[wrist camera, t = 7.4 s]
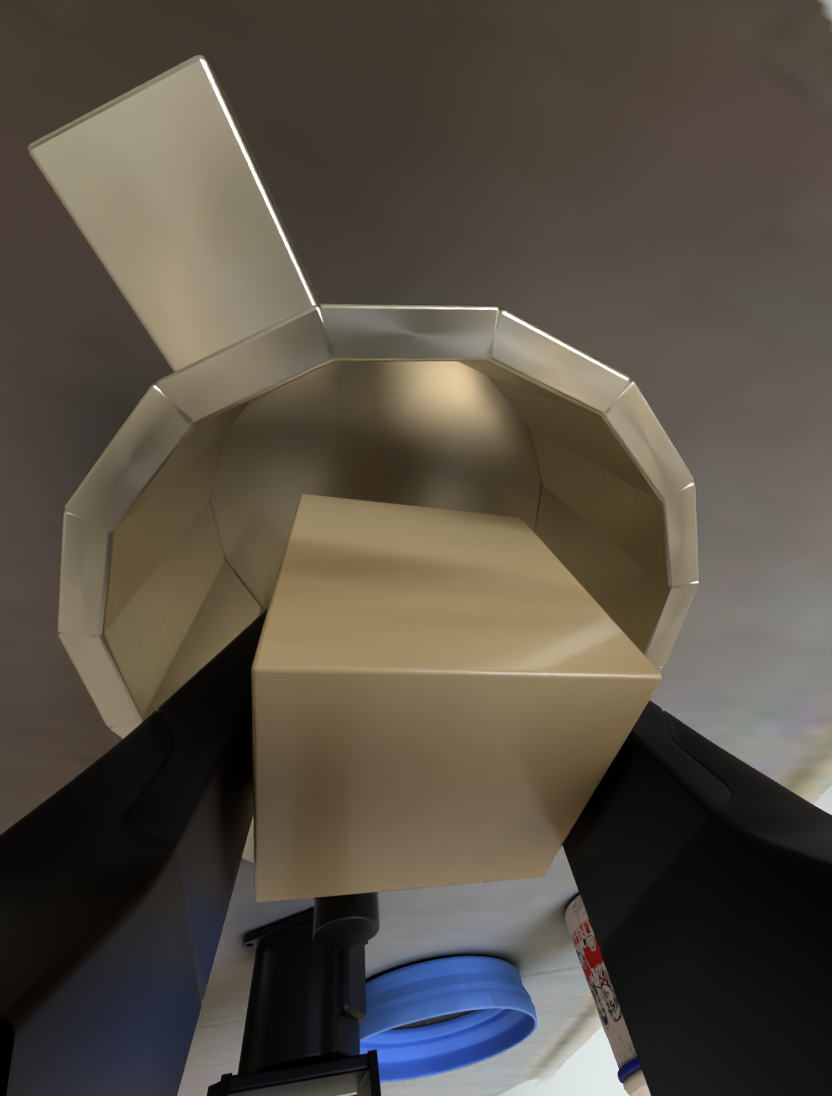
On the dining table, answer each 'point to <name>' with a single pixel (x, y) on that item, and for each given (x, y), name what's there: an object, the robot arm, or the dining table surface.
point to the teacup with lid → (605, 999)
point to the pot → (316, 413)
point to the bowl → (444, 1015)
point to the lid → (337, 913)
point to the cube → (427, 702)
